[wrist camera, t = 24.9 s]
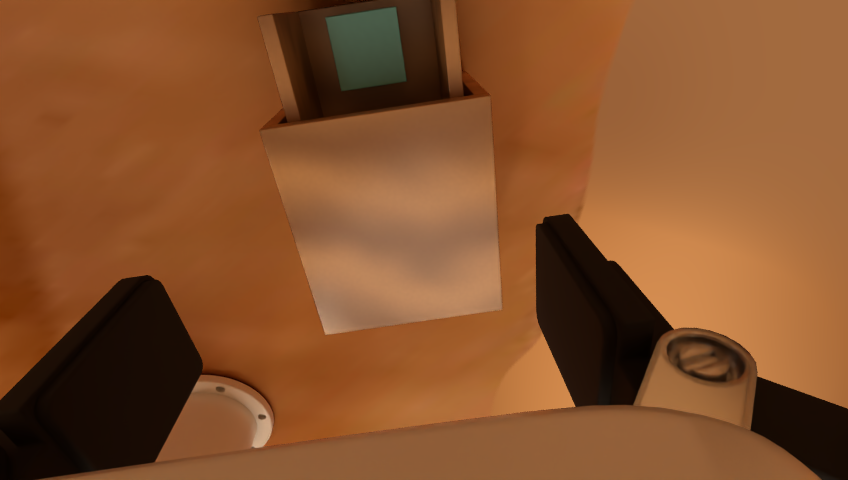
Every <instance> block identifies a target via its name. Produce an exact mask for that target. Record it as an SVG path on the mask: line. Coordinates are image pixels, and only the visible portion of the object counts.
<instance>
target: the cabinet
mask: <svg viewBox="0 0 848 480" xmlns="http://www.w3.org/2000/svg"><path fill="white" fill-rule="evenodd" d="M462 79H463V91H464V97H457V98H450V99H444V100H437V101H430V102H424V103H417V104H410V105H404V106H397V107H390V108H384V109H377V110H370V111H364V112H357V113H350V114H344V115H337V116H330V117H324V118H317V119H310V120H304V121H297V122H291V123H287V119H286V116H285V112H284V109H282V110H280V111H279V112H278V113H277V114H276V115H275V116H274V117H273V118H272V119H271V120H270V121H269V122H268V123H266V124H265V125H264V126H263V127H262V128H261V129H260V130H259V132H260V135H261V138H262V141H263V144H264V147H265V150H266V153H267V156H268V159H269V163H270V166H271V169H272V172H273V175H274V178H275V181H276V184H277V187H278V190H279V193H280V197H281V200H282V203H283V206H284V209H285V212H286V215H287V218H288V221H289V224H290V228H291V231H292V234H293V237H294V240H295V243H296V246H297V249H298V252H299V255H300V258H301V262H302V265H303V268H304V271H305V274H306V277H307V280H308V283H309V286H310V289H311V293H312V296H313V299H314V302H315V305H316V308H317V311H318V314H319V317H320V320H321V323H322V327H323V330H324V333H325V335H330V334H337V333H344V332H351V331H358V330H365V329H372V328H379V327H386V326H393V325H400V324H407V323H414V322H421V321H428V320H435V319H442V318H449V317H456V316H462V315H469V314H476V313H483V312H490V311H497V310H502V309H503V305H502V287H501V269H500V251H499V233H498V215H497V197H496V179H495V161H494V143H493V126H492V108H491V96H490V95H489V94H488V93H487V92H486V91H485V90H484V89H483V88H482V87H481V86H480V85H479V84H478V83H477V82H476V81H475V80H474V79H473V78H472V77H471V76H470V75H469V74H468V73H467V72H466V71H462Z"/></svg>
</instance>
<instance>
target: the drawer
mask: <svg viewBox="0 0 848 480" xmlns="http://www.w3.org/2000/svg"><path fill="white" fill-rule="evenodd" d="M393 6H396V9H397V16H398V23H399V30H400V37H401V44H402V51H403V57H404V64H405V71H406V78H407V82H401V83H394V84H388V85H381V86H374V87H368V88H361V89H355V90H348V91H341V88H340V83H339V79H338V74H337V70H336V65H335V61H334V56H333V51H332V47H331V42H330V38H329V33H328V29H327V24H326V19H325V17H329V16H334V15H341V14H347V13H354V12H360V11H367V10H374V9H380V8H387V7H393ZM257 18H258V22H259V25H260V29H261V32H262V36H263V39H264V43H265V46H266V50H267V53H268V57H269V60H270V64H271V67H272V70H273V74H274V77H275V81H276V84H277V88H278V91H279V95H280V98H281V102H282V105H283V109H284V112H285V116H286V119H287V123H291V122H297V121H304V120H310V119H317V118H324V117H330V116H337V115H344V114H350V113H357V112H364V111H370V110H377V109H384V108H390V107H397V106H404V105H410V104H417V103H424V102H430V101H437V100H444V99H450V98H457V97H464V91H463V79H462V67H461V56H460V44H459V32H458V21H457V9H456V0H370V1H364V2H357V3H351V4H344V5H338V6H331V7H325V8H318V9H312V10H305V11H299V12H288V13H276V14H267V15H261V16H257Z"/></svg>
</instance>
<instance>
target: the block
mask: <svg viewBox="0 0 848 480" xmlns="http://www.w3.org/2000/svg"><path fill="white" fill-rule="evenodd" d="M325 19H326V24H327V29H328V33H329V38H330V42H331V47H332V51H333V56H334V61H335V65H336V70H337V74H338V79H339V83H340V88H341V91H348V90H355V89H361V88H368V87H374V86H381V85H388V84H394V83H401V82H407V78H406V71H405V64H404V57H403V51H402V44H401V37H400V30H399V23H398V16H397V9H396V6H393V7H387V8H380V9H374V10H367V11H360V12H354V13H347V14H341V15H334V16H329V17H325Z"/></svg>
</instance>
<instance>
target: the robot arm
mask: <svg viewBox="0 0 848 480" xmlns="http://www.w3.org/2000/svg"><path fill="white" fill-rule="evenodd" d="M536 312H537V319H538V323H539V325H540V328H541V330H542V332H543V335H544V337H545V339H546V341H547V344H548V346H549V348H550V350H551V352H552V355H553V357H554V359H555V361H556V364H557V366H558V368H559V370H560V373H561V375H562V377H563V379H564V382H565V384H566V386H567V388H568V390H569V392H570V395H571V397H572V400H573V402H574V404H575V406H576V407H572V408H561V409H550V410H539V411H529V412H520V413H514V414H506V415H498V416H490V417H482V418H473V419H465V420H458V421H450V422H443V423H435V424H428V425H421V426H413V427H406V428H398V429H391V430H383V431H376V432H368V433H361V434H353V435H346V436H339V437H331V438H324V439H317V440H310V441H302V442H295V443H288V444H281V445H274V446H266V447H263V446H264V445H265V444H266V442H267V441H268V439H269V438H270V435H271V432H272V429H273V424H274V416H273V412H272V410H271V407H270V406H269V404H268V403H267V401H266V400H265V399H264V398H263V397H262V396H261V395H260V394H259V393H258V392H257V391H255V390H254V389H252V388H251V387H249V386H247V385H245V384H243V383H241V382H239V381H236V380H233V379H230V378H226V377H221V376H215V375H201V373H202V369H203V363H202V359H201V357H200V355H199V353H198V351H197V349H196V347H195V345H194V343H193V342H192V340H191V338H190V336H189V334H188V332H187V330H186V328H185V326H184V324H183V323H182V321H181V319H180V317H179V315H178V313H177V311H176V309H175V307H174V305H173V304H172V302H171V300H170V298H169V296H168V294H167V292H166V290H165V288H164V286H163V285H162V283H161V282H160V281H158V280H155V279H154V278H152V277H151V276H148V275H145V276H138V277H131V278H125V279H121V280H120V281H119V282H118V283H117V284H116V285H115V286H114V287H113V288H112V289H111V290H110V291H109V292H108V293H107V294H106V295H105V296H104V297H103V298H102V299H101V300H100V301H99V302H98V303H97V304H96V305H95V306H94V307H93V308H92V309H91V310H90V311H89V312H88V313H87V314H86V315H85V316H84V317H83V318H82V319H81V320H80V321H79V322H78V323H77V324H76V325H75V326H74V327H73V328H72V329H71V330H70V331H69V332H68V333H67V334H66V335H65V336H64V337H63V338H62V339H61V340H60V341H59V342H58V343H57V344H56V345H55V346H54V347H53V348H52V349H51V350H50V351H49V352H48V353H47V354H46V355H45V356H44V357H43V358H42V359H41V360H40V361H39V362H38V363H37V364H36V365H35V366H34V367H33V368H32V369H31V370H30V371H29V372H28V373H27V374H26V375H25V376H24V377H23V378H22V379H21V380H20V381H19V382H18V383H17V384H16V385H15V386H14V387H13V388H12V389H11V390H10V391H9V392H8V393H7V394H6V395H5V396H4V397H3V398H2V399H1V400H0V480H848V409H847V408H844V407H841V406H839V405H836V404H833V403H830V402H827V401H825V400H822V399H819V398H816V397H813V396H811V395H808V394H805V393H802V392H799V391H797V390H794V389H791V388H788V387H785V386H783V385H780V384H777V383H774V382H771V381H769V380H766V379H763V378H760V377H757V366H756V362H755V361H754V359H753V357H752V356H751V354H750V353H749V352H748V351H747V350H746V349H745V348H743V347H742V346H741V345H740V344H739V343H737V342H735V341H734V340H732V339H730V338H728V337H726V336H724V335H721V334H719V333H716V332H713V331H710V330H704V329H699V328H679V329H675V330H674V329H673V328H672V327H671V325H670V324H669V323H668V322H667V321H666V320H665V319H664V317H663V316H662V315H661V314H660V312H659V311H658V310H657V309H656V308H655V307H654V305H653V304H652V303H651V302H650V301H649V300H648V299H647V297H646V296H645V295H644V294H643V293H642V292H641V290H640V289H639V288H638V287H637V286H636V285H635V283H634V282H633V281H632V280H631V279H630V277H629V276H628V275H627V274H626V273H625V272H624V270H623V269H622V268H621V267H620V266H619V265H618V264H617V263H616V262H615V261H607V259H606V258H605V257H604V256H603V255H602V253H601V252H600V251H599V250H598V248H597V247H596V246H595V245H594V244H593V243H592V241H591V240H590V239H589V238H588V236H587V235H586V234H585V233H584V231H583V230H582V229H581V228H580V227H579V225H578V224H577V223H576V222H575V221H574V219H573V218H572V217H571V216H570V215H569V214H563V215H556V216H549V217H545V218H544V220H543V223H542V224H537V225H536Z"/></svg>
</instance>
